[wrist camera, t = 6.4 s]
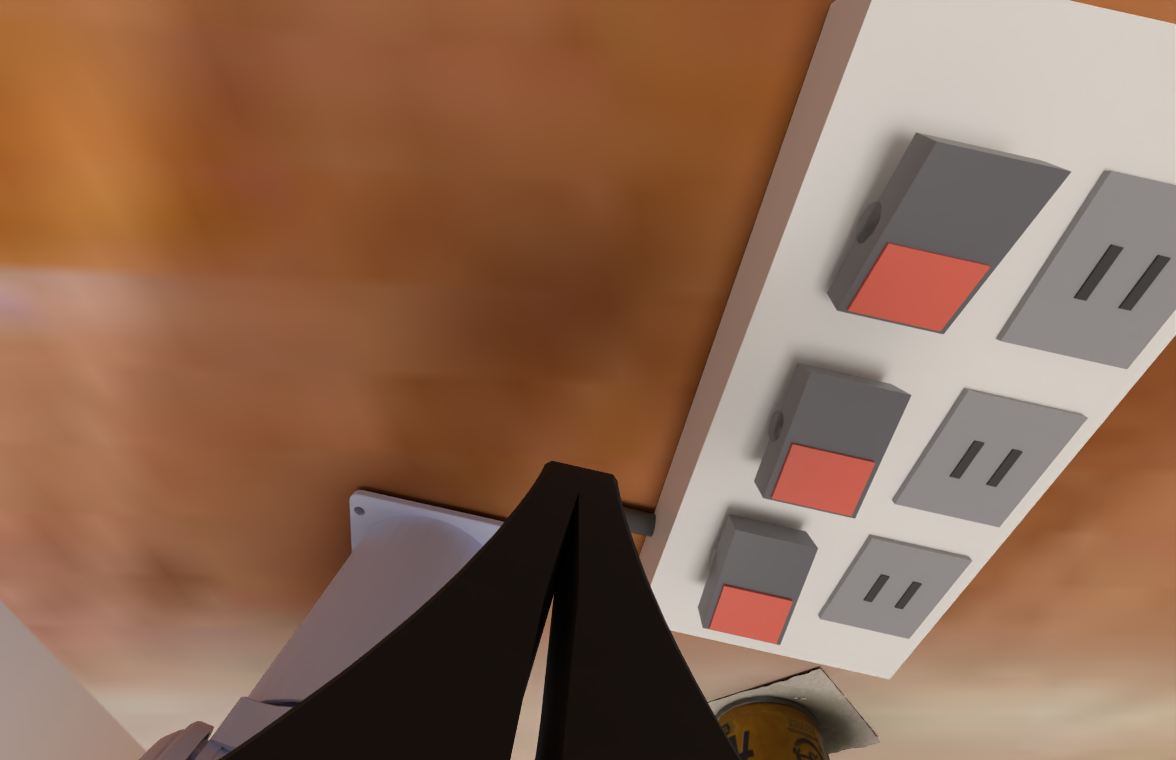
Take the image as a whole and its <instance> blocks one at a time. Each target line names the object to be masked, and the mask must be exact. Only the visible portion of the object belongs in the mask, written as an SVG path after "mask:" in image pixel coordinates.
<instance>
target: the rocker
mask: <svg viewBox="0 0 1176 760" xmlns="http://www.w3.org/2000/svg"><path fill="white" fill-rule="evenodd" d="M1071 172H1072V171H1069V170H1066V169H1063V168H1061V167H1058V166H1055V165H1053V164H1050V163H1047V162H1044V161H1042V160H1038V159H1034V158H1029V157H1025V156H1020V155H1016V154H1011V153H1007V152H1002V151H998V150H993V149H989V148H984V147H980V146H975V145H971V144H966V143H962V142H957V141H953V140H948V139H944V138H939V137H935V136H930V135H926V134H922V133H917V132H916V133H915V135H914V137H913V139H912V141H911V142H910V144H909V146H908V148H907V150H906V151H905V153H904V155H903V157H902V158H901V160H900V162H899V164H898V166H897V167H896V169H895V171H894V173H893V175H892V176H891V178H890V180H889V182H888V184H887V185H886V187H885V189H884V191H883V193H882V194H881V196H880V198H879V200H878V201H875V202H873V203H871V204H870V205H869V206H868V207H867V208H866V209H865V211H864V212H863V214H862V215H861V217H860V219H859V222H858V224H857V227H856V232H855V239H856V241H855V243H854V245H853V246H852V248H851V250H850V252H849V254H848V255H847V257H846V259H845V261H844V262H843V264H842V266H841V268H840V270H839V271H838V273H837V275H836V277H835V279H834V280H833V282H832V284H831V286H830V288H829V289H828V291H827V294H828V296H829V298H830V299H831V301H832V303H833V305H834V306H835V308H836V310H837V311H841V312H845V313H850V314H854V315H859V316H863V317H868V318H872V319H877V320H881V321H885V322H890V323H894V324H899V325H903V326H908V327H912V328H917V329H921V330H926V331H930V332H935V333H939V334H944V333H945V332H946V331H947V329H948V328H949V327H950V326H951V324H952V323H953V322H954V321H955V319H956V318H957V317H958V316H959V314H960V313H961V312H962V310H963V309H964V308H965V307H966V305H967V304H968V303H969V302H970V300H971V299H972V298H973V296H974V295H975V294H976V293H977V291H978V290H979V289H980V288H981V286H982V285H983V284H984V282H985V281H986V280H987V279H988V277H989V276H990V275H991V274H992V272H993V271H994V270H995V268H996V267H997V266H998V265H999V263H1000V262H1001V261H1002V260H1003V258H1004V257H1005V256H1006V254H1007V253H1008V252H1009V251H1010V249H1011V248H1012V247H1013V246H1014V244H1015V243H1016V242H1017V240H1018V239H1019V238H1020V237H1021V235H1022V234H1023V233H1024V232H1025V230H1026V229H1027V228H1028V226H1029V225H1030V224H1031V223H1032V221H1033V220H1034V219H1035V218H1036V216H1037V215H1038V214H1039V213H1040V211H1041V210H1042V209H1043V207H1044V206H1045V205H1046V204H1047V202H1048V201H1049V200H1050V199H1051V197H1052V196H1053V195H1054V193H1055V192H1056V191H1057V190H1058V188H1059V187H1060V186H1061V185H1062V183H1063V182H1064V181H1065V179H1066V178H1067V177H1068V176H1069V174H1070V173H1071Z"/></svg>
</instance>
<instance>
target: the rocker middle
mask: <svg viewBox="0 0 1176 760" xmlns="http://www.w3.org/2000/svg"><path fill="white" fill-rule="evenodd" d="M910 397H911V394H909V393H907V392H905V391H903V390H901V389H900V388H898V387H896V386H894V385H892V384H890V383H885V382H881V381H876V380H872V379H867V378H863V377H858V376H854V375H849V374H845V373H840V372H836V371H831V370H827V369H823V368H818V367H814V366H809V365H805V364H800V363H797V365H796V368H795V371H794V373H793V376H792V379H791V381H790V384H789V387H788V390H787V392H786V395H785V398H784V401H783V403H782V406H781V409H780V410H777V411H775V412H774V414H773V415H772V417H771V420H770V423H769V429H768V435H769V441H768V444H767V447H766V450H765V452H764V455H763V458H762V460H761V463H760V466H759V469H758V471H757V474H756V477H755V480H754V482H755V484H756V486H757V488H758V490H759V491H760V493H761V495H762V497H763V498H765V499H769V500H774V501H778V502H782V503H787V504H791V505H796V506H800V507H805V508H809V509H814V510H818V511H823V512H827V513H832V514H836V515H841V516H845V517H849V518H854V519H855V518H856V516H857V513H858V511H859V509H860V507H861V505H862V502H863V500H864V498H865V496H866V494H867V491H868V489H869V487H870V485H871V483H872V481H873V478H874V476H875V474H876V472H877V470H878V467H879V465H880V463H881V461H882V459H883V457H884V454H885V452H886V450H887V448H888V446H889V443H890V441H891V439H892V437H893V435H894V432H895V430H896V428H897V426H898V424H899V422H900V419H901V417H902V415H903V413H904V411H905V408H906V406H907V404H908V402H909V400H910Z"/></svg>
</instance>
